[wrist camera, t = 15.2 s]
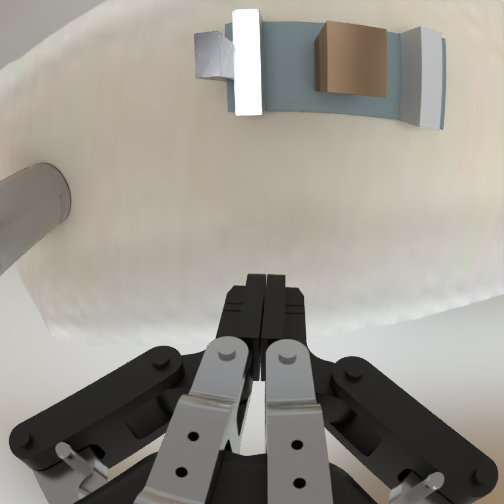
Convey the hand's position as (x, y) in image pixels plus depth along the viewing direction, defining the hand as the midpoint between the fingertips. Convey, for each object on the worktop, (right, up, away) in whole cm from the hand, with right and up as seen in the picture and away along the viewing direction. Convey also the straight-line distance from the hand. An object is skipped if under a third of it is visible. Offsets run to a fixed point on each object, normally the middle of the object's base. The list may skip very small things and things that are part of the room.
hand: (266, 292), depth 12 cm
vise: (+7, +19, +12) cm, 24 cm away
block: (+7, +18, +11) cm, 22 cm away
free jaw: (-1, +19, +11) cm, 22 cm away
